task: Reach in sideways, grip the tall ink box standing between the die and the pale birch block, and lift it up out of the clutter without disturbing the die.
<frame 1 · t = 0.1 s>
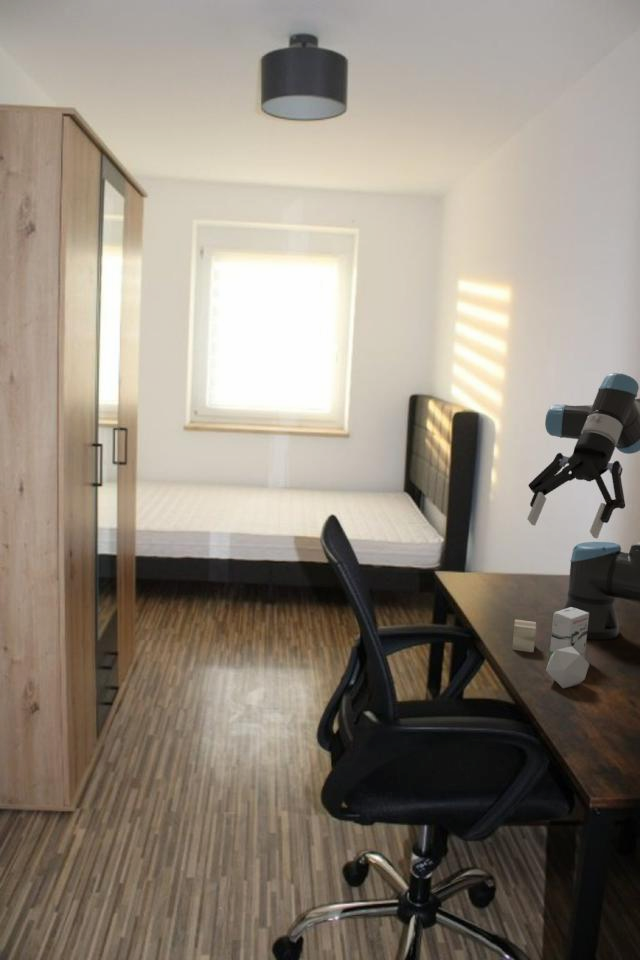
hand: (561, 528, 167), 36 cm above the table, tool tilted 35°, fingers open, 13 cm apart
ink box: (566, 661, 194), on the table
die: (565, 684, 180), on the table
birch block: (523, 647, 201), on the table
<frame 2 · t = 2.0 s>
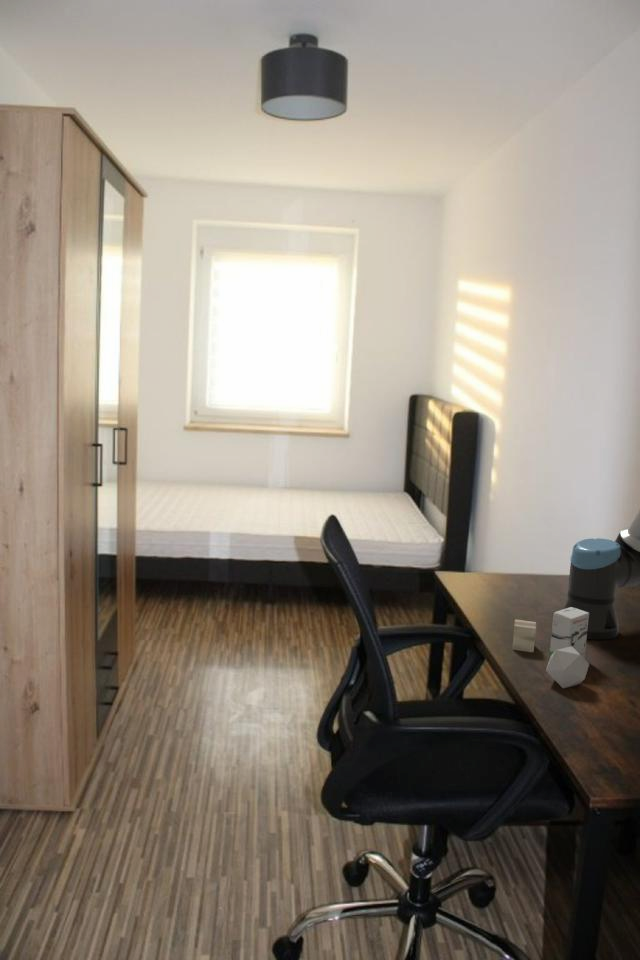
nothing on the table moved.
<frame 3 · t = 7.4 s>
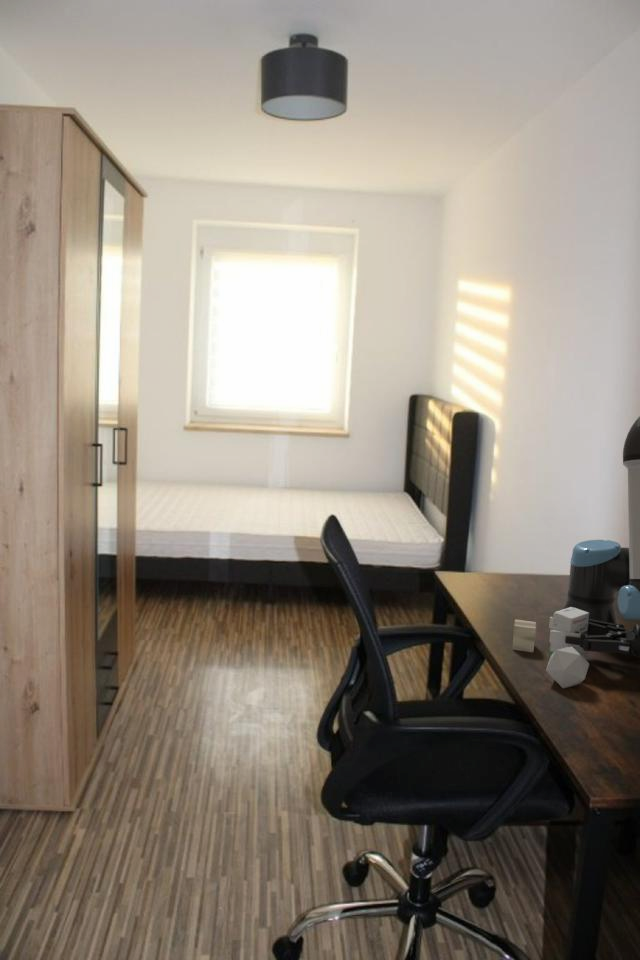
hand: (549, 629, 194), 7 cm above the table, tool horizontal, fingers closed on ink box, 9 cm apart
ink box: (566, 661, 194), on the table, touching gripper
everything else where it was.
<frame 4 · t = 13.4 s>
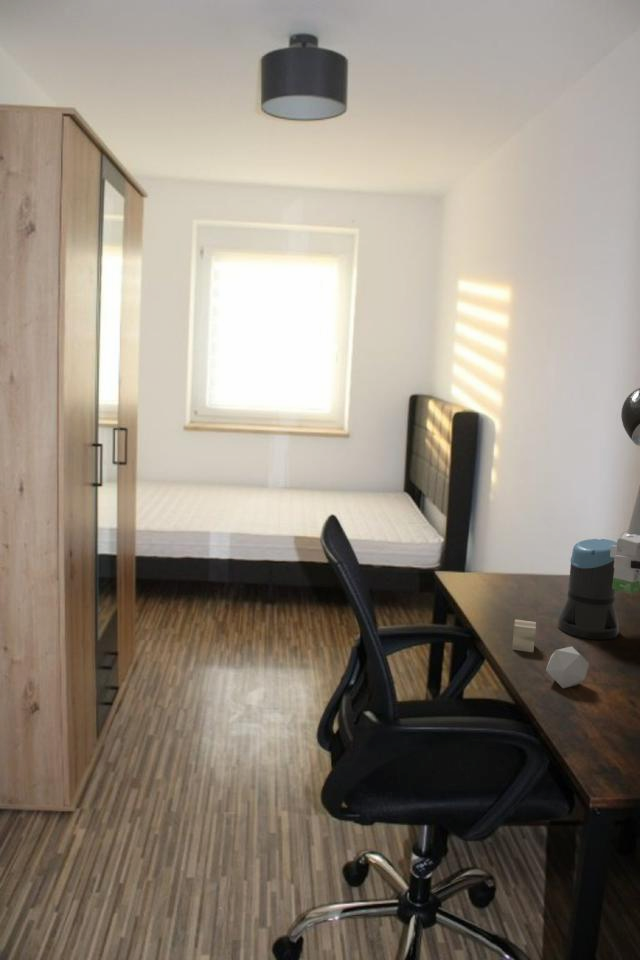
hand: (612, 556, 188), 26 cm above the table, tool horizontal, fingers closed on ink box, 9 cm apart
ink box: (629, 589, 188), point 19 cm above the table, touching gripper
everything else where it was.
at the end: the gripper is holding ink box; ink box point 18.7 cm above the table; die moved 0.2 cm from its start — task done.
